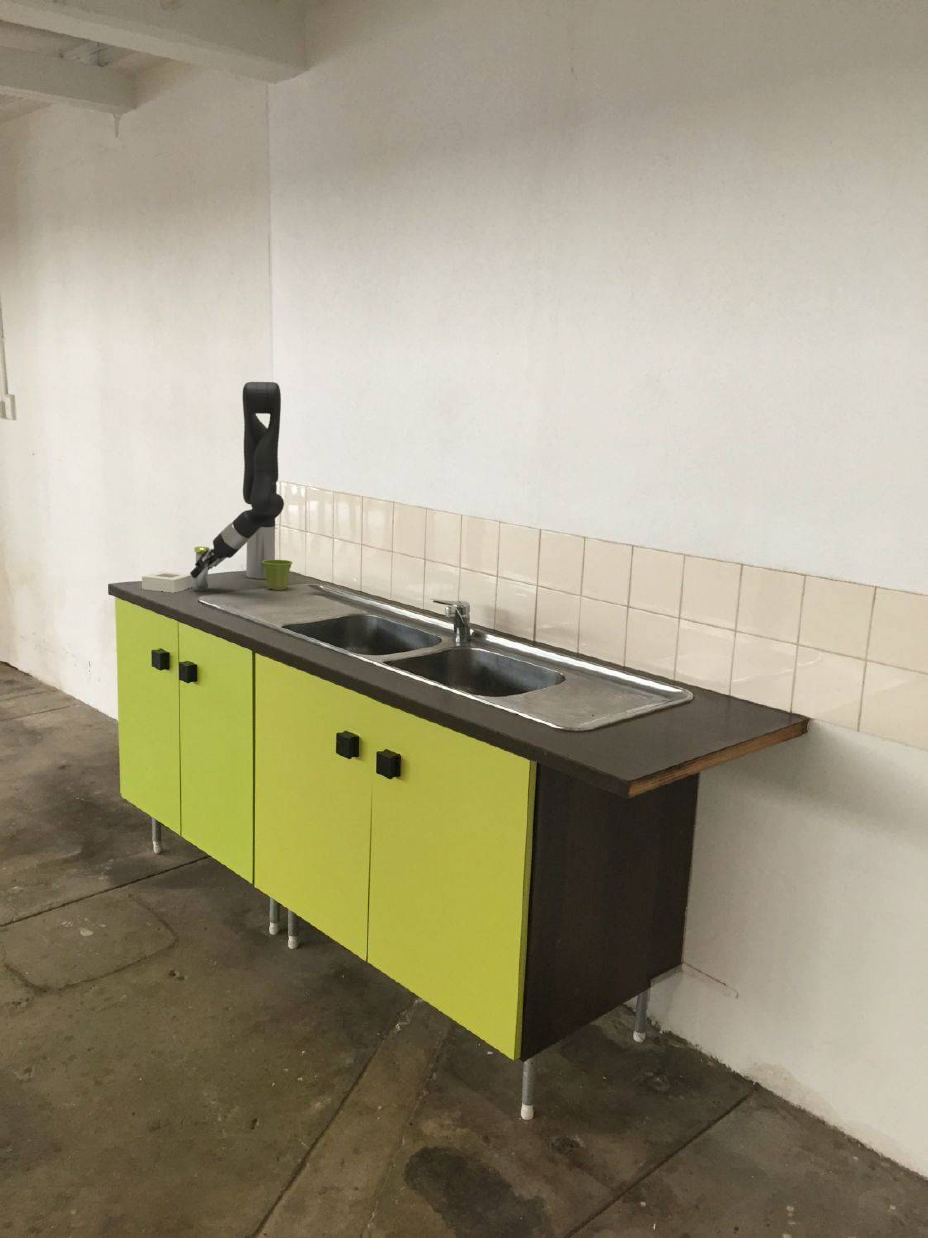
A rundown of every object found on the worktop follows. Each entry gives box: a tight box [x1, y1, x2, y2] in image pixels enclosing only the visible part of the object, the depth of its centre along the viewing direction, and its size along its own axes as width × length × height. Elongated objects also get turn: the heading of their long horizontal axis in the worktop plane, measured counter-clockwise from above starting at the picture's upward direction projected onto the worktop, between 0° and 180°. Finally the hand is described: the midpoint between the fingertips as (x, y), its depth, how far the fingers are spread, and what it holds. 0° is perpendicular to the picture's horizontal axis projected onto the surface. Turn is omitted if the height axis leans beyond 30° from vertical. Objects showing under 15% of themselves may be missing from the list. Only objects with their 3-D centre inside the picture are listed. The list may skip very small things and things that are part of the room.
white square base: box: [141, 571, 194, 594], centre depth 320 cm, size 11×11×4 cm
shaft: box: [194, 546, 210, 592], centre depth 319 cm, size 4×4×13 cm
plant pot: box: [262, 559, 293, 591], centre depth 329 cm, size 9×9×9 cm
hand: (196, 574), depth 320 cm, fingers closed on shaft, 3 cm apart
